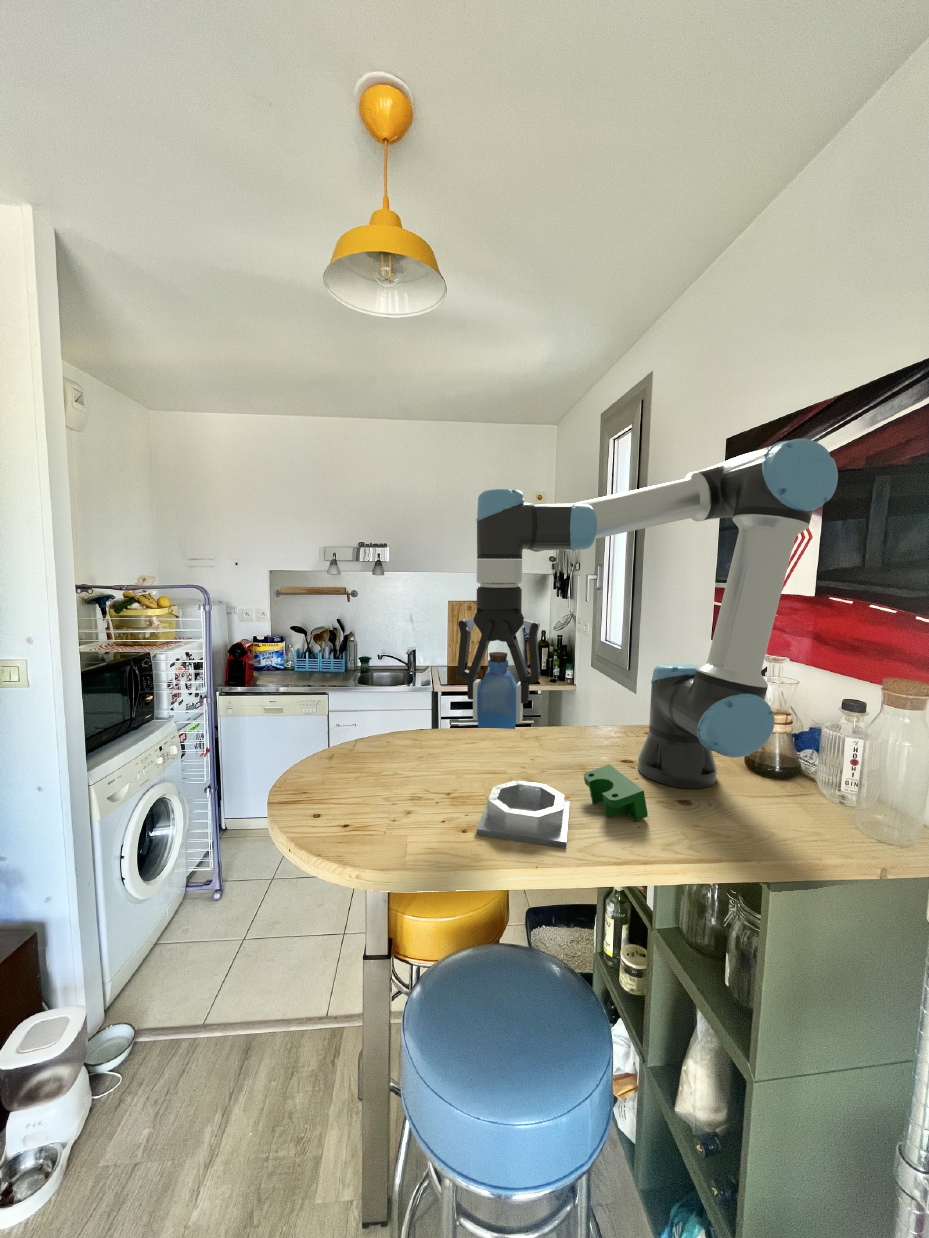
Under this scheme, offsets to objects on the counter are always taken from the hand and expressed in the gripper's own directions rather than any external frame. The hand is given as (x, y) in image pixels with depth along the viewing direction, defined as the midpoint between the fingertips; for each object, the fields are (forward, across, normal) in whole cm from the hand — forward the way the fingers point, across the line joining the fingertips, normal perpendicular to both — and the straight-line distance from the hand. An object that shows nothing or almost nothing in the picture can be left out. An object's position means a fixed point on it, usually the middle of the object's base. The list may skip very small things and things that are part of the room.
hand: (497, 719), depth 88 cm
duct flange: (+16, -5, +2) cm, 17 cm away
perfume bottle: (+1, 0, 0) cm, 1 cm away
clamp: (+17, -20, -6) cm, 27 cm away
